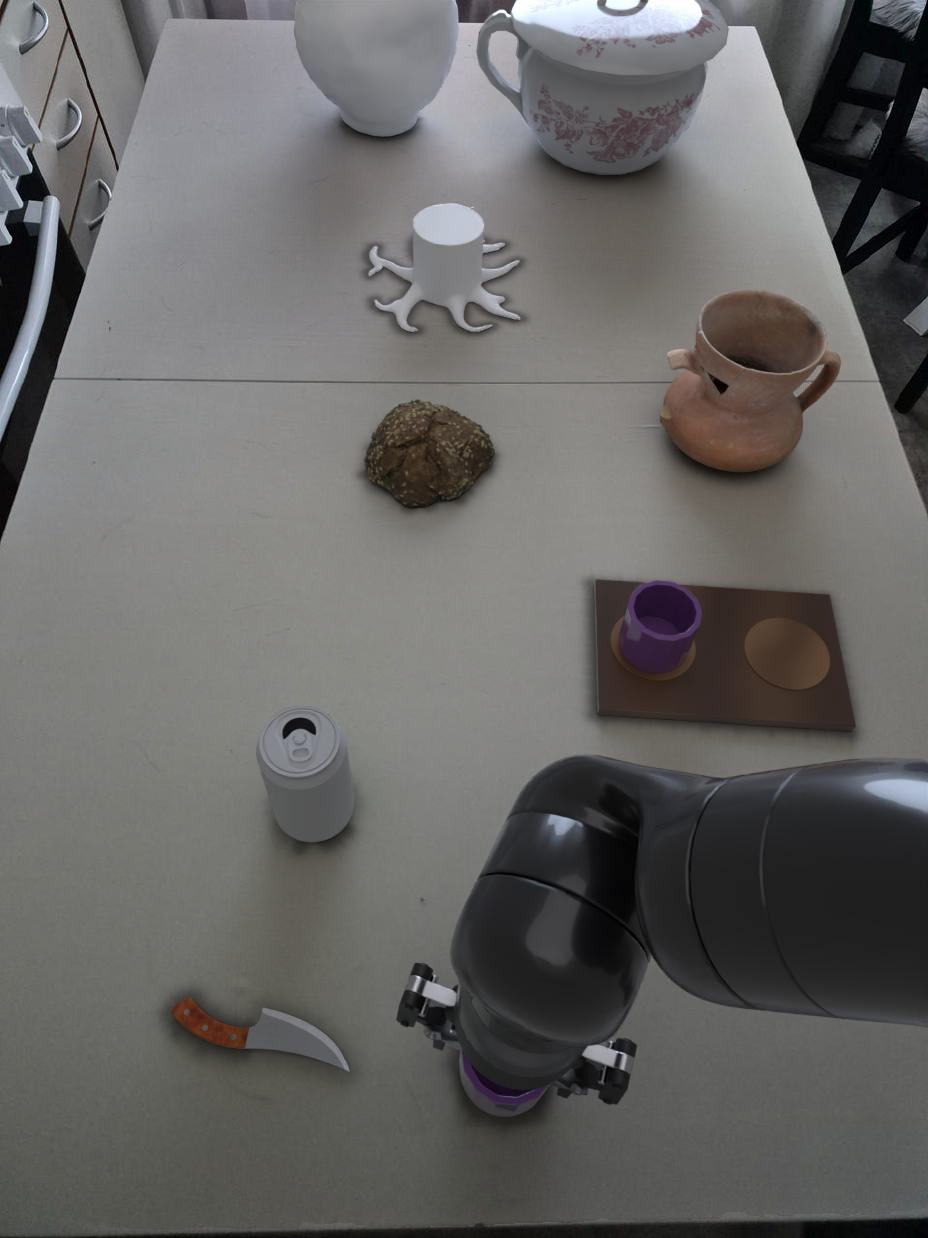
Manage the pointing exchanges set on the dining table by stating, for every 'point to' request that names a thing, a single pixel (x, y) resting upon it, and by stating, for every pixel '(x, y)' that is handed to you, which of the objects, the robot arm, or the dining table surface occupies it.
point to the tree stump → (446, 265)
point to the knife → (262, 1033)
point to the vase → (377, 57)
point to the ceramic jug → (747, 380)
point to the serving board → (732, 662)
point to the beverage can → (306, 772)
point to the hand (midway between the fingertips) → (504, 1057)
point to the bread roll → (427, 453)
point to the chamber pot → (607, 75)
